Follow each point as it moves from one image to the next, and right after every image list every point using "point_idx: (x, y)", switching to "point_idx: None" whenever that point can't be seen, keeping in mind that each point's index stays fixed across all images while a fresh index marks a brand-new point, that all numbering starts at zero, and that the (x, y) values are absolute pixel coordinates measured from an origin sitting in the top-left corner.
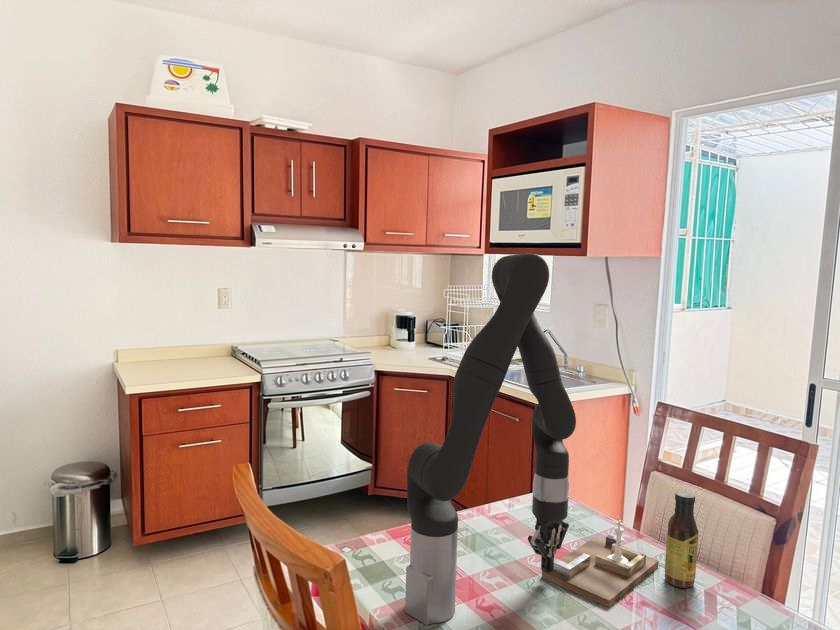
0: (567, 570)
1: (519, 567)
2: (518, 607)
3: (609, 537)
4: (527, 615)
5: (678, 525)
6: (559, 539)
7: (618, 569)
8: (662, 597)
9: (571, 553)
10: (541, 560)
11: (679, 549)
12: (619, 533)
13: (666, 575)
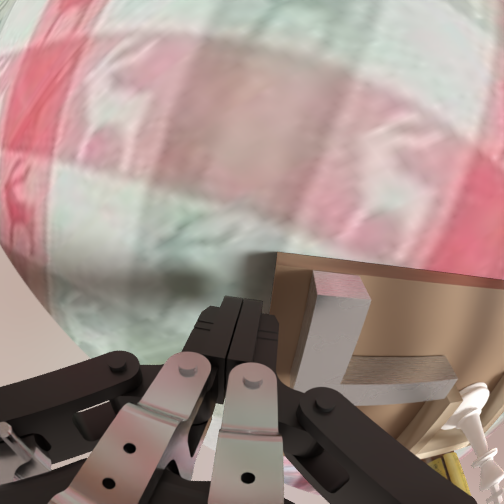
0: (292, 388)
1: (290, 120)
2: (62, 273)
3: None
4: (62, 306)
5: None
6: (318, 484)
7: (406, 439)
8: None
9: (489, 294)
10: (188, 338)
11: None
12: (480, 481)
13: (427, 460)
